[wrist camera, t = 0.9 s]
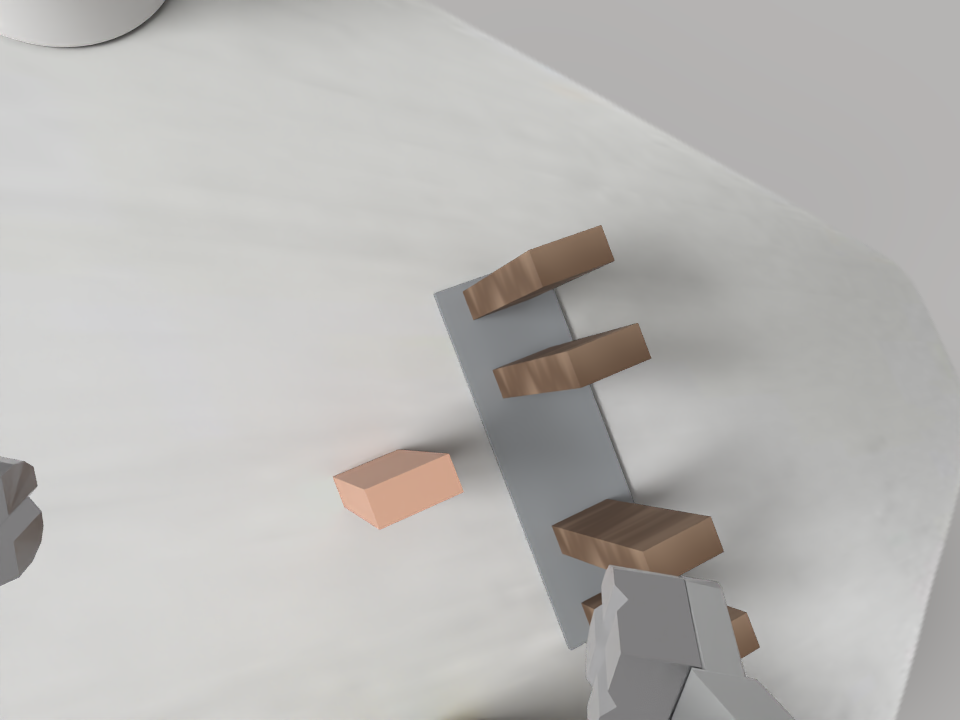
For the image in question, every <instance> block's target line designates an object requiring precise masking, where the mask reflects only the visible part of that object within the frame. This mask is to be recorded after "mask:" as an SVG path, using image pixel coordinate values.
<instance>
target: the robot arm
mask: <svg viewBox="0 0 960 720" xmlns="http://www.w3.org/2000/svg"><path fill="white" fill-rule="evenodd" d="M164 1H165V0H0V34H1V35H3V36H6V37H9V38H12V39H15V40H18V41H22V42H26V43H31V44H35V45H42V46H52V47H77V46H86V45H92V44H97V43H101V42H105V41H108V40H111V39H114V38H116V37H119V36H121V35H123V34H125V33H128V32H130V31H131V30H133V29H135V28H136V27H138V26H139V25H141V24H142V23H144V22H145V21H146V20H147V19H148V18H150V17H151V16H152V15H153V14H154V13H155V12H156V11H157V10H158V9H159V7H160V6H161V5H162V4H163V2H164ZM36 487H37V481H36V476H35V472H34V467H33V466H31V465H30V464H28V463H26V462H25V461H20V460H15V459H10V458H5V457H0V586H1V585H3V584H6V583H8V582H10V581H12V580H14V579H16V578H19V577H20V576H21V575H22V573H23V572H24V571H25V570H26V569H27V567H28V566H29V565H30V564H31V563H32V561H33V559H34V557H35V555H36V552H37V550H38V548H39V546H40V544H41V540H42V532H43V519H42V512H41V510H40V509H39V508H38V507H37V506H36V505H35V503H34V502H33V501H32V500H31V499H30V498H29V496H30V495H31V493H32V492H33V491H34V490H35V489H36ZM601 593H602V605H600V606H599V607H597V608H596V609H594V612H593V616H592V620H591V624H590V627H589V634H588V640H587V646H586V679H587V681H588V682H589V683H590V685H591V686H592V687H593V688H592V692H591V695H590V698H589V702H588V705H587V719H588V720H795V719H794V718H793V717H792V716H791V715H790V714H789V713H788V712H787V711H786V710H785V709H784V707H783V706H782V705H781V704H780V703H779V702H778V701H777V700H776V699H775V698H774V697H773V696H772V695H771V694H770V693H769V692H768V691H767V690H766V689H765V687H764V686H763V685H762V684H761V683H760V682H759V681H758V680H757V679H752V678H747V677H746V676H745V672H744V669H743V665H742V661H741V657H740V654H739V650H738V646H737V642H736V639H735V635H734V631H733V627H732V624H731V620H730V616H729V612H728V609H727V605H726V601H725V597H724V594H723V590H722V587H721V586H720V585H719V584H718V582H715V581H709V580H703V579H696V578H690V577H683V576H681V577H678V576H673V575H667V574H661V573H655V572H649V571H643V570H637V569H632V568H626V567H620V566H614V565H609V566H608V568H607V570H606V572H605V575H604V578H603V581H602V585H601Z"/></svg>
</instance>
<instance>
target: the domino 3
mask: <svg viewBox="0 0 960 720" xmlns="http://www.w3.org/2000/svg"><path fill="white" fill-rule="evenodd" d="M648 359H651V356H650V354H649V351H648V348H647V346H646V343H645V340H644V338H643V335H642V332H641V330H640V327H639V324H638V323H636V324H632V325H629V326H625V327H621V328H618V329H614V330H610V331H607V332H603V333H600V334H596V335H592V336H589V337H585V338H582V339H578V340H574V341H571V342H567V343H563V344H560V345H556V346H553V347H549V348H547V349H544V350H542V351H539V352H537V353H534V354H532V355H529V356H526V357H524V358H521V359H519V360H516V361H514V362H511V363H509V364H506V365H504V366H501V367H499V368H496V369H494V370H492V371H493V373H494V376H495V378H496V381H497V384H498V386H499V389H500V392H501V394H502V397H503V398H510V397H518V396H525V395H533V394H540V393H547V392H555V391H562V390H570V389H577V388H582V387H585V386H587V385H589V384H592V383H594V382H596V381H599V380H601V379H603V378H606V377H608V376H611V375H613V374H615V373H618V372H620V371H622V370H625V369H627V368H629V367H632V366H634V365H637V364H639V363H641V362H644V361H646V360H648Z"/></svg>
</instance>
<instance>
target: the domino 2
mask: <svg viewBox="0 0 960 720" xmlns="http://www.w3.org/2000/svg"><path fill="white" fill-rule="evenodd" d="M613 261H615V260H614V258H613V255H612V252H611V250H610V247H609V244H608V242H607V239H606V236H605V234H604V231H603V228H602V226H601V225H600V226H597V227H594V228H591V229H588V230H586V231H583V232H580V233H577V234H574V235H571V236H568V237H565V238H563V239H560V240H557V241H554V242H551V243H548V244H545V245H542V246H539V247H537V248H534V249H531V250H528V251H527V252H525V253H524V254H522V255H520V256H519V257H517V258H516V259H514V260H512V261H511V262H509V263H508V264H506V265H504V266H503V267H501V268H500V269H498V270H496V271H495V272H493V273H492V274H490V275H488V276H487V277H485V278H484V279H482V280H480V281H479V282H477V283H476V284H474V285H472V286H471V287H469V288H468V289H466V290H464V291H463V294H464V297H465V300H466V302H467V305H468V307H469V310H470V313H471V315H472V318H473V320H475V319H478V318H481V317H483V316H486V315H489V314H492V313H494V312H497V311H500V310H502V309H505V308H508V307H510V306H513V305H516V304H519V303H521V302H524V301H527V300H529V299H532V298H534V297H536V296H538V295H541V294H543V293H545V292H547V291H549V290H552V289H554V288H556V287H558V286H560V285H563V284H565V283H567V282H569V281H571V280H573V279H576V278H578V277H580V276H582V275H584V274H587V273H589V272H591V271H593V270H595V269H598V268H600V267H602V266H604V265H606V264H609V263H611V262H613Z"/></svg>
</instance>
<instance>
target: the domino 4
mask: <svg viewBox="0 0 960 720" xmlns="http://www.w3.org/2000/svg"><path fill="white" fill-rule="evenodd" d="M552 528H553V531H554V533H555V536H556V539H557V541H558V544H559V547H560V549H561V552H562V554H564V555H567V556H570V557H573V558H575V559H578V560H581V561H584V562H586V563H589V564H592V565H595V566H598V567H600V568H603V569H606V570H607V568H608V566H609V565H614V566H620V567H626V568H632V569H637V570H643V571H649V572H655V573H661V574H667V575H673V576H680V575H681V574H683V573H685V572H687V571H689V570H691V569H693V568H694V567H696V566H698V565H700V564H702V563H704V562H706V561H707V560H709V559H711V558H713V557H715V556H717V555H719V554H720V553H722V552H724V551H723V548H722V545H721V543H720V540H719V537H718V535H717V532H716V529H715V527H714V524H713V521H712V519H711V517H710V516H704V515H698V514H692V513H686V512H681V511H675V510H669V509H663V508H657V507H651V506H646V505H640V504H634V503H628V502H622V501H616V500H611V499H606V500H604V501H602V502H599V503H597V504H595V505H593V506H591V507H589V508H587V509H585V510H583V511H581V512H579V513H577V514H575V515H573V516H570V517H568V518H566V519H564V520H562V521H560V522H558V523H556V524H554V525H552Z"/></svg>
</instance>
